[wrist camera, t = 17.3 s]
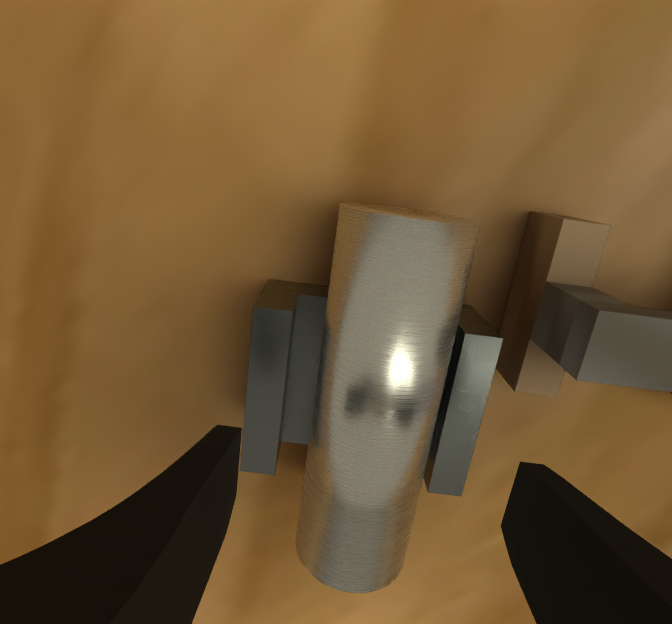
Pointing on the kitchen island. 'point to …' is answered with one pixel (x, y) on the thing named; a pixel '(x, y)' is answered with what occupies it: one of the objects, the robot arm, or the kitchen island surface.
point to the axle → (379, 387)
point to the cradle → (301, 376)
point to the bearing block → (576, 317)
